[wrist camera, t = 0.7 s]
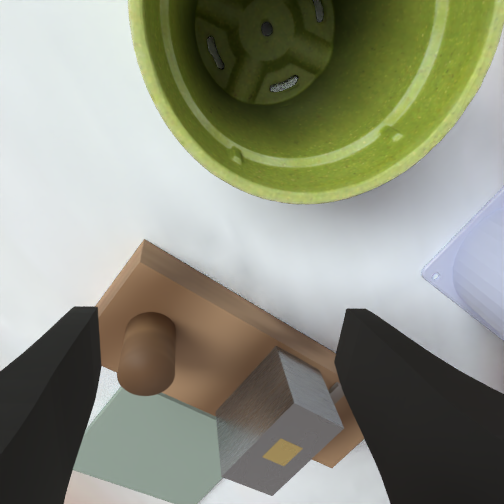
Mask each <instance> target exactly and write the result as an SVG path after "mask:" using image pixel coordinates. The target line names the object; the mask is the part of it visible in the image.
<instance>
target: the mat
mask: <svg viewBox="0 0 504 504" xmlns="http://www.w3.org/2000/svg"><path fill="white" fill-rule="evenodd" d="M73 470H75V471H78V472H81V473H84V474H87V475H90V476H93V477H96V478H99V479H102V480H105V481H108V482H111V483H114V484H117V485H120V486H123V487H126V488H129V489H132V490H135V491H138V492H141V493H144V494H147V495H150V496H153V497H156V498H159V499H162V500H165V501H168V502H171V503H174V504H197V503H198V502H199V501H200V500H201V499H202V498H203V497H204V496H205V495H206V494H207V493H208V492H209V491H210V490H211V489H212V488H213V487H214V486H215V485H216V484H217V483H218V482H219V481H220V480H221V479H222V478H223V477H221V467H220V456H219V445H218V434H217V423H216V416H213V415H211V414H209V413H207V412H204V411H202V410H200V409H198V408H195V407H193V406H191V405H189V404H186V403H184V402H182V401H180V400H177V399H175V398H173V397H171V396H168V395H166V394H164V393H162V392H161V393H159V394H156V395H153V396H138V395H134V394H131V393H129V392H128V391H126V390H125V389H124V388H123V387H122V386H121V387H120V388H119V390H118V391H117V392H116V393H115V395H114V396H113V397H112V398H111V400H110V401H109V402H108V403H107V404H106V406H105V407H104V408H103V409H102V411H101V412H100V413H99V414H98V416H97V417H96V418H95V419H94V421H93V422H92V423H91V424H90V426H89V427H88V428H87V429H86V430H85V433H84V436H83V439H82V443H81V446H80V449H79V452H78V455H77V458H76V461H75V464H74V467H73Z"/></svg>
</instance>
